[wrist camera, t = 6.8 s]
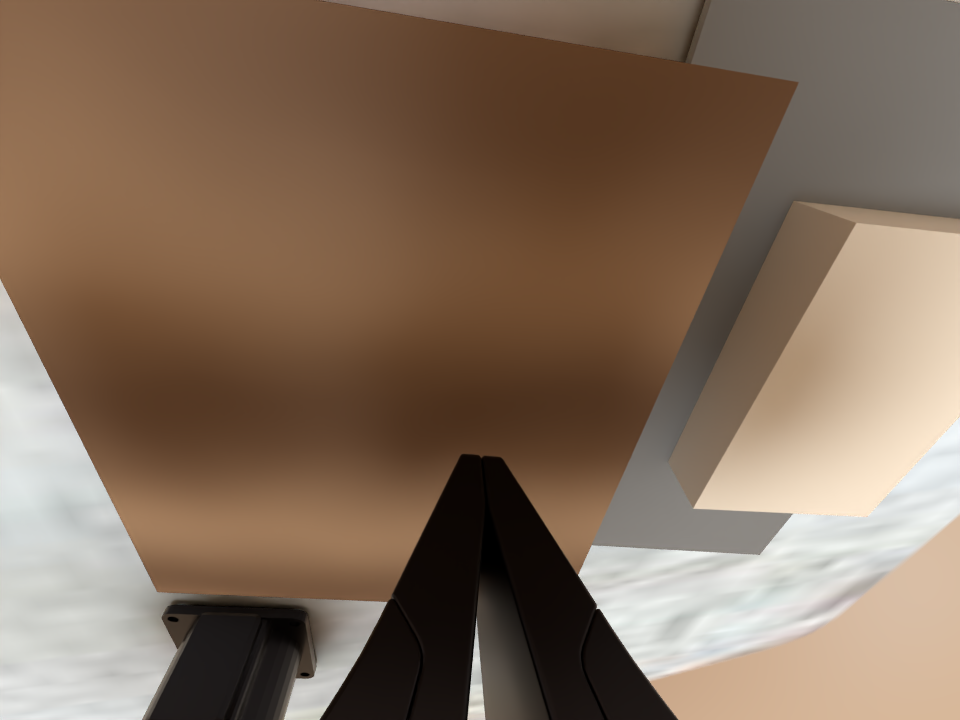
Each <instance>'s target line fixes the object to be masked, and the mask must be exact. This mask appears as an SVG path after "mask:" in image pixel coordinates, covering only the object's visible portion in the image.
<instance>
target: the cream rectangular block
mask: <svg viewBox="0 0 960 720" xmlns="http://www.w3.org/2000/svg"><path fill="white" fill-rule="evenodd" d="M959 417H960V219H955V218H946V217H937V216H928V215H919V214H909V213H900V212H891V211H882V210H873V209H864V208H855V207H846V206H836V205H827V204H818V203H809V202H800V201H793V203H792V205H791V207H790V209H789V211H788V213H787V215H786V217H785V220H784V222H783V224H782V226H781V228H780V230H779V232H778V234H777V236H776V238H775V240H774V242H773V244H772V247H771V249H770V251H769V253H768V255H767V257H766V259H765V261H764V263H763V265H762V267H761V269H760V272H759V274H758V276H757V278H756V280H755V282H754V284H753V286H752V288H751V290H750V292H749V294H748V297H747V299H746V301H745V303H744V305H743V307H742V309H741V311H740V313H739V315H738V317H737V319H736V322H735V324H734V326H733V328H732V330H731V332H730V334H729V336H728V338H727V340H726V342H725V344H724V347H723V349H722V351H721V353H720V355H719V357H718V359H717V361H716V363H715V365H714V367H713V369H712V372H711V374H710V376H709V378H708V380H707V382H706V384H705V386H704V388H703V390H702V392H701V394H700V397H699V399H698V401H697V403H696V405H695V407H694V409H693V411H692V413H691V415H690V417H689V419H688V422H687V424H686V426H685V428H684V430H683V432H682V434H681V436H680V438H679V440H678V442H677V444H676V446H675V449H674V451H673V453H672V455H671V457H670V459H669V461H668V463H669V465H670V467H671V468H672V470H673V472H674V474H675V476H676V478H677V480H678V482H679V483H680V485H681V487H682V489H683V491H684V493H685V495H686V496H687V498H688V500H689V502H690V504H691V506H692V508H693V509H711V510H732V511H753V512H774V513H795V514H816V515H837V516H858V517H867V516H868V515H869V514H870V513H871V512H872V511H873V510H874V509H875V508H876V507H877V506H878V504H879V503H880V502H881V501H882V500H883V499H884V498H885V497H886V496H887V495H888V494H889V493H890V491H891V490H892V489H893V488H894V487H895V486H896V485H897V484H898V483H899V482H900V481H901V480H902V478H903V477H904V476H905V475H906V474H907V473H908V472H909V471H910V470H911V469H912V468H913V467H914V465H915V464H916V463H917V462H918V461H919V460H920V459H921V458H922V457H923V456H924V455H925V454H926V452H927V451H928V450H929V449H930V448H931V447H932V446H933V445H934V444H935V443H936V442H937V441H938V439H939V438H940V437H941V436H942V435H943V434H944V433H945V432H946V431H947V430H948V429H949V428H950V426H951V425H952V424H953V423H954V422H955V421H956V420H957V419H958V418H959Z"/></svg>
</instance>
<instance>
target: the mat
mask: <svg viewBox="0 0 960 720" xmlns="http://www.w3.org/2000/svg"><path fill="white" fill-rule="evenodd" d="M685 63H689V64H695V65H701V66H707V67H713V68H719V69H725V70H731V71H736V72H742V73H748V74H754V75H760V76H766V77H772V78H777V79H783V80H789V81H795V82H799V83H798V86H797V88H796V90H795V92H794V95H793V97H792V99H791V101H790V104H789V106H788V108H787V110H786V112H785V115H784V117H783V119H782V121H781V124H780V126H779V128H778V130H777V132H776V135H775V137H774V139H773V141H772V144H771V146H770V148H769V150H768V153H767V155H766V157H765V159H764V161H763V164H762V166H761V168H760V170H759V173H758V175H757V177H756V179H755V182H754V184H753V186H752V188H751V190H750V193H749V195H748V197H747V199H746V202H745V204H744V206H743V208H742V211H741V213H740V215H739V217H738V219H737V222H736V224H735V226H734V228H733V231H732V233H731V235H730V237H729V239H728V242H727V244H726V246H725V248H724V251H723V253H722V255H721V257H720V260H719V262H718V264H717V266H716V268H715V271H714V273H713V275H712V277H711V280H710V282H709V284H708V286H707V289H706V291H705V293H704V295H703V297H702V300H701V302H700V304H699V306H698V309H697V311H696V313H695V315H694V318H693V320H692V322H691V324H690V326H689V329H688V331H687V333H686V335H685V338H684V340H683V342H682V344H681V346H680V349H679V351H678V353H677V355H676V358H675V360H674V362H673V364H672V367H671V369H670V371H669V373H668V375H667V378H666V380H665V382H664V384H663V387H662V389H661V391H660V393H659V396H658V398H657V400H656V402H655V404H654V407H653V409H652V411H651V413H650V416H649V418H648V420H647V422H646V425H645V427H644V429H643V431H642V433H641V436H640V438H639V440H638V442H637V445H636V447H635V449H634V451H633V453H632V456H631V458H630V460H629V462H628V465H627V467H626V469H625V471H624V474H623V476H622V478H621V480H620V482H619V485H618V487H617V489H616V491H615V494H614V496H613V498H612V500H611V503H610V505H609V507H608V509H607V511H606V514H605V516H604V518H603V520H602V523H601V525H600V527H599V529H598V532H597V534H596V536H595V538H594V540H593V543H592V545H598V546H616V547H633V548H651V549H668V550H686V551H703V552H721V553H739V554H756V555H760V554H761V552H762V551H763V550H764V549H765V547H766V546H767V545H768V544H769V542H770V541H771V540H772V539H773V538H774V536H775V535H776V534H777V533H778V531H779V530H780V529H781V528H782V527H783V525H784V524H785V523H786V522H787V520H788V519H789V518H790V517H791V515H792V514H793V513H774V512H753V511H732V510H711V509H693V508H692V506H691V504H690V502H689V500H688V498H687V496H686V495H685V493H684V491H683V489H682V487H681V485H680V483H679V482H678V480H677V478H676V476H675V474H674V472H673V470H672V468H671V467H670V465H669V463H668V461H669V459H670V457H671V455H672V453H673V451H674V449H675V446H676V444H677V442H678V440H679V438H680V436H681V434H682V432H683V430H684V428H685V426H686V424H687V422H688V419H689V417H690V415H691V413H692V411H693V409H694V407H695V405H696V403H697V401H698V399H699V397H700V394H701V392H702V390H703V388H704V386H705V384H706V382H707V380H708V378H709V376H710V374H711V372H712V369H713V367H714V365H715V363H716V361H717V359H718V357H719V355H720V353H721V351H722V349H723V347H724V344H725V342H726V340H727V338H728V336H729V334H730V332H731V330H732V328H733V326H734V324H735V322H736V319H737V317H738V315H739V313H740V311H741V309H742V307H743V305H744V303H745V301H746V299H747V297H748V294H749V292H750V290H751V288H752V286H753V284H754V282H755V280H756V278H757V276H758V274H759V272H760V269H761V267H762V265H763V263H764V261H765V259H766V257H767V255H768V253H769V251H770V249H771V247H772V244H773V242H774V240H775V238H776V236H777V234H778V232H779V230H780V228H781V226H782V224H783V222H784V220H785V217H786V215H787V213H788V211H789V209H790V207H791V205H792V203H793V201H800V202H809V203H818V204H827V205H836V206H846V207H855V208H864V209H873V210H882V211H891V212H900V213H909V214H919V215H928V216H937V217H946V218H955V219H960V3H957V2H952V1H947V0H705V3H704V6H703V9H702V12H701V15H700V18H699V21H698V25H697V28H696V31H695V34H694V37H693V40H692V43H691V46H690V49H689V53H688V56H687V59H686V62H685Z"/></svg>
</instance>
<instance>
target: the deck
mask: <svg viewBox="0 0 960 720" xmlns="http://www.w3.org/2000/svg"><path fill="white" fill-rule="evenodd" d="M798 83H799V82H795V81H789V80H783V79H777V78H772V77H766V76H760V75H754V74H748V73H742V72H736V71H731V70H725V69H719V68H713V67H707V66H701V65H695V64H689V63H684V62H678V61H672V60H666V59H660V58H654V57H648V56H643V55H637V54H631V53H625V52H619V51H613V50H607V49H601V48H596V47H590V46H584V45H578V44H572V43H566V42H560V41H554V40H549V39H543V38H537V37H531V36H525V35H519V34H513V33H508V32H502V31H496V30H490V29H484V28H478V27H472V26H466V25H461V24H455V23H449V22H443V21H437V20H431V19H425V18H419V17H414V16H408V15H402V14H396V13H390V12H384V11H378V10H373V9H367V8H361V7H355V6H349V5H343V4H337V3H331V2H326V1H320V0H0V279H1V281H2V283H3V285H4V287H5V289H6V291H7V293H8V295H9V297H10V299H11V301H12V303H13V305H14V307H15V309H16V311H17V313H18V315H19V317H20V319H21V321H22V323H23V325H24V327H25V329H26V331H27V333H28V335H29V337H30V339H31V341H32V343H33V345H34V347H35V349H36V351H37V353H38V355H39V357H40V359H41V361H42V363H43V365H44V367H45V369H46V371H47V373H48V375H49V377H50V379H51V381H52V383H53V385H54V387H55V389H56V391H57V393H58V395H59V397H60V399H61V401H62V403H63V405H64V407H65V409H66V411H67V413H68V415H69V417H70V419H71V421H72V423H73V425H74V427H75V429H76V431H77V433H78V435H79V437H80V439H81V441H82V443H83V445H84V447H85V449H86V451H87V453H88V455H89V457H90V459H91V461H92V463H93V465H94V467H95V469H96V471H97V473H98V475H99V477H100V479H101V481H102V482H103V484H104V486H105V488H106V490H107V492H108V494H109V496H110V498H111V500H112V502H113V504H114V506H115V508H116V510H117V512H118V514H119V516H120V518H121V520H122V522H123V524H124V526H125V528H126V530H127V532H128V534H129V536H130V538H131V540H132V542H133V544H134V546H135V548H136V550H137V552H138V554H139V556H140V558H141V560H142V562H143V564H144V566H145V568H146V570H147V572H148V574H149V576H150V578H151V580H152V582H153V584H154V586H155V588H156V590H157V592H167V593H191V594H215V595H239V596H263V597H286V598H310V599H334V600H358V601H381V602H388V600H389V599H391V595H392V593H393V591H394V589H395V587H396V585H397V583H398V581H399V579H400V577H401V575H402V572H403V570H404V568H405V566H406V564H407V562H408V560H409V558H410V556H411V554H412V552H413V550H414V548H415V546H416V544H417V542H418V540H419V538H420V536H421V534H422V532H423V530H424V528H425V526H426V524H427V522H428V520H429V518H430V516H431V514H432V512H433V510H434V508H435V506H436V503H437V501H438V499H439V497H440V495H441V493H442V491H443V489H444V487H445V485H446V483H447V481H448V479H449V477H450V475H451V473H452V471H453V469H454V467H455V465H456V463H457V461H458V459H459V457H460V455H461V454H475V455H480V457H481V458H482V456H484V455H487V456H498V457H501V458H503V460H504V461H505V463H506V464H507V466H508V467H509V469H510V470H511V472H512V474H513V475H514V477H515V478H516V480H517V481H518V483H519V484H520V486H521V488H522V489H523V491H524V492H525V494H526V495H527V497H528V498H529V500H530V502H531V503H532V505H533V506H534V508H535V509H536V511H537V512H538V514H539V516H540V517H541V519H542V520H543V522H544V523H545V525H546V526H547V528H548V530H549V531H550V533H551V534H552V536H553V537H554V539H555V540H556V542H557V544H558V545H559V547H560V548H561V550H562V551H563V553H564V554H565V556H566V558H567V559H568V561H569V562H570V564H571V565H572V567H573V568H574V570H575V572H576V573H577V575H578V574H579V572H580V569H581V567H582V565H583V563H584V561H585V558H586V556H587V554H588V552H589V549H590V547H591V545H592V543H593V540H594V538H595V536H596V534H597V532H598V529H599V527H600V525H601V523H602V520H603V518H604V516H605V514H606V511H607V509H608V507H609V505H610V503H611V500H612V498H613V496H614V494H615V491H616V489H617V487H618V485H619V482H620V480H621V478H622V476H623V474H624V471H625V469H626V467H627V465H628V462H629V460H630V458H631V456H632V453H633V451H634V449H635V447H636V445H637V442H638V440H639V438H640V436H641V433H642V431H643V429H644V427H645V425H646V422H647V420H648V418H649V416H650V413H651V411H652V409H653V407H654V404H655V402H656V400H657V398H658V396H659V393H660V391H661V389H662V387H663V384H664V382H665V380H666V378H667V375H668V373H669V371H670V369H671V367H672V364H673V362H674V360H675V358H676V355H677V353H678V351H679V349H680V346H681V344H682V342H683V340H684V338H685V335H686V333H687V331H688V329H689V326H690V324H691V322H692V320H693V318H694V315H695V313H696V311H697V309H698V306H699V304H700V302H701V300H702V297H703V295H704V293H705V291H706V289H707V286H708V284H709V282H710V280H711V277H712V275H713V273H714V271H715V268H716V266H717V264H718V262H719V260H720V257H721V255H722V253H723V251H724V248H725V246H726V244H727V242H728V239H729V237H730V235H731V233H732V231H733V228H734V226H735V224H736V222H737V219H738V217H739V215H740V213H741V211H742V208H743V206H744V204H745V202H746V199H747V197H748V195H749V193H750V190H751V188H752V186H753V184H754V182H755V179H756V177H757V175H758V173H759V170H760V168H761V166H762V164H763V161H764V159H765V157H766V155H767V153H768V150H769V148H770V146H771V144H772V141H773V139H774V137H775V135H776V132H777V130H778V128H779V126H780V124H781V121H782V119H783V117H784V115H785V112H786V110H787V108H788V106H789V104H790V101H791V99H792V97H793V95H794V92H795V90H796V88H797V86H798Z"/></svg>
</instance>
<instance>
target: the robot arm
mask: <svg viewBox="0 0 960 720" xmlns="http://www.w3.org/2000/svg"><path fill="white" fill-rule="evenodd" d="M596 608H597V604H596V603H595V601H594V600H593V598H592V596H591V595H590V593H589V592H588V590H587V589H586V587H585V586H584V584H583V582H582V581H581V579H580V578H579V576H578V575H577V573H576V572H575V570H574V568H573V567H572V565H571V564H570V562H569V561H568V559H567V558H566V556H565V554H564V553H563V551H562V550H561V548H560V547H559V545H558V544H557V542H556V540H555V539H554V537H553V536H552V534H551V533H550V531H549V530H548V528H547V526H546V525H545V523H544V522H543V520H542V519H541V517H540V516H539V514H538V512H537V511H536V509H535V508H534V506H533V505H532V503H531V502H530V500H529V498H528V497H527V495H526V494H525V492H524V491H523V489H522V488H521V486H520V484H519V483H518V481H517V480H516V478H515V477H514V475H513V474H512V472H511V470H510V469H509V467H508V466H507V464H506V463H505V461H504V460H503V458H501V457H498V456H487V455H484V456H482V458H481V457H480V455H475V454H461V455H460V457H459V459H458V461H457V463H456V465H455V467H454V469H453V471H452V473H451V475H450V477H449V479H448V481H447V483H446V485H445V487H444V489H443V491H442V493H441V495H440V497H439V499H438V501H437V503H436V506H435V508H434V510H433V512H432V514H431V516H430V518H429V520H428V522H427V524H426V526H425V528H424V530H423V532H422V534H421V536H420V538H419V540H418V542H417V544H416V546H415V548H414V550H413V552H412V554H411V556H410V558H409V560H408V562H407V564H406V566H405V568H404V570H403V572H402V575H401V577H400V579H399V581H398V583H397V585H396V587H395V589H394V591H393V593H392V595H391V599H389V600H388V602H387V604H386V606H385V608H384V610H383V612H382V614H381V616H380V618H379V620H378V622H377V624H376V626H375V628H374V630H373V632H372V634H371V636H370V637H369V639H368V641H367V643H366V645H365V647H364V649H363V651H362V652H361V654H360V656H359V657H358V659H357V661H356V662H355V664H354V666H353V667H352V669H351V671H350V672H349V674H348V676H347V677H346V679H345V681H344V682H343V684H342V686H341V687H340V689H339V691H338V692H337V694H336V695H335V697H334V698H333V700H332V701H331V703H330V705H329V706H328V708H327V709H326V711H325V712H324V714H323V715H322V717H321V718H320V720H467V717H468V706H469V695H470V684H471V672H472V661H473V650H474V639H475V628H476V617H477V627H478V638H479V650H480V661H481V673H482V684H483V696H484V707H485V719H486V720H678V719H677V717H676V716H675V715H674V713H673V712H672V711H671V710H670V708H669V707H668V706H667V704H666V703H665V702H664V701H663V699H662V698H661V697H660V695H659V694H658V693H657V691H656V690H655V689H654V687H653V686H652V685H651V683H650V682H649V680H648V679H647V678H646V676H645V675H644V674H643V672H642V671H641V670H640V668H639V667H638V666H637V664H636V663H635V662H634V660H633V659H632V657H631V656H630V654H629V653H628V651H627V650H626V648H625V647H624V645H623V644H622V642H621V641H620V639H619V638H618V636H617V635H616V633H615V632H614V630H613V629H612V627H611V626H610V624H609V623H608V621H607V620H606V618H605V616H604V615H603V613H602V612H601V610H600V609H596ZM162 620H163V622H164V624H165V626H166V628H167V630H168V632H169V634H170V636H171V638H172V639H173V641H174V643H175V645H176V647H177V649H178V650H177V652H176V654H175V656H174V658H173V660H172V662H171V664H170V666H169V668H168V670H167V672H166V674H165V676H164V678H163V680H162V682H161V684H160V686H159V688H158V690H157V692H156V693H155V695H154V697H153V699H152V701H151V703H150V705H149V707H148V709H147V711H146V713H145V715H144V717H143V719H142V720H284V717H285V713H286V710H287V706H288V703H289V699H290V696H291V693H292V689H293V686H294V682H295V679H296V678H304V679H306V678H312V677H314V674H315V670H316V661H315V655H314V649H313V642H312V636H311V630H310V624H309V618H308V614H307V613H306V612H304V611H301V610H290V609H265V608H240V607H214V606H189V605H170V606H168V607H167V608H166V610H165V612H164V614H163V615H162Z"/></svg>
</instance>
